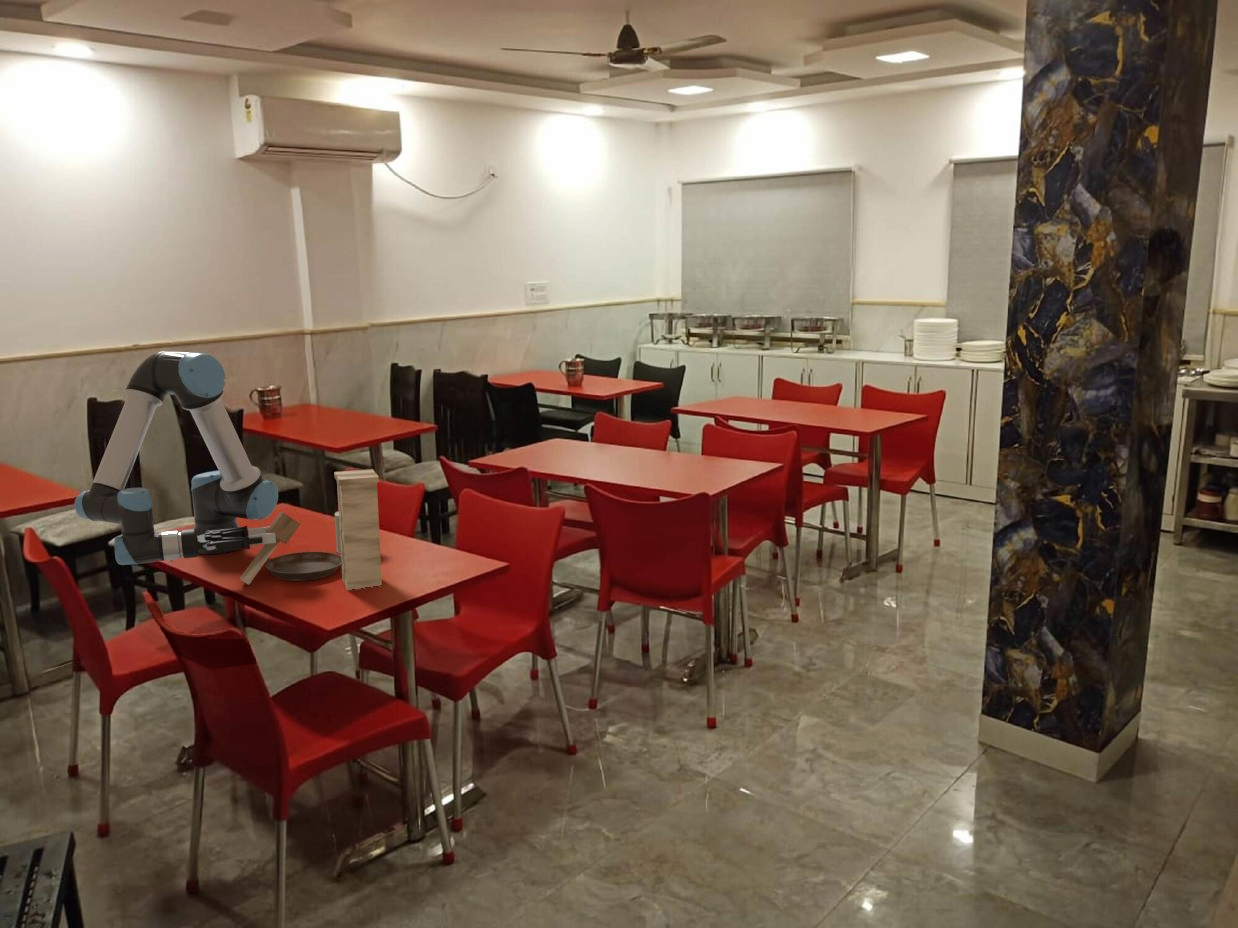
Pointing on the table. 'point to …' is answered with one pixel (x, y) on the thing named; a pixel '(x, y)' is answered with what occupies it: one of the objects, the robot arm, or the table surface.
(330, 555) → the plant saucer
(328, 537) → the table surface
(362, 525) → the stand
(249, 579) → the mallet
